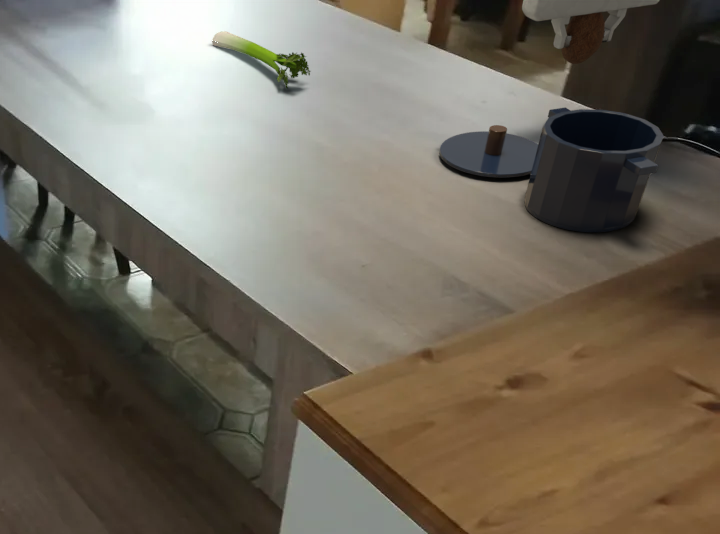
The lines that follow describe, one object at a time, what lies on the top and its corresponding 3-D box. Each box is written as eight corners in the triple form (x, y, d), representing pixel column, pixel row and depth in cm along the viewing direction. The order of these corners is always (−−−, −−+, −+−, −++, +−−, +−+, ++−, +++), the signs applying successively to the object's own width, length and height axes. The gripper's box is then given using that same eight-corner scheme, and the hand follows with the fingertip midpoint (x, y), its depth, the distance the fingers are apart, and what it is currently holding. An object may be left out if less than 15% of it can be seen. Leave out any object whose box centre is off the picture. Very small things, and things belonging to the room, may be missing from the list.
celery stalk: (236, 50, 180) (320, 85, 157) (205, 61, 179) (284, 99, 156) (232, 17, 176) (318, 49, 154) (200, 28, 175) (281, 62, 152)
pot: (582, 170, 130) (605, 96, 124) (672, 232, 116) (703, 152, 110) (494, 184, 129) (512, 110, 122) (574, 249, 115) (599, 169, 108)
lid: (510, 132, 141) (517, 102, 138) (566, 172, 130) (575, 141, 127) (420, 146, 139) (425, 116, 136) (470, 188, 128) (477, 156, 125)
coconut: (549, 63, 136) (563, 5, 131) (572, 55, 138) (587, -3, 133) (579, 72, 133) (595, 13, 128) (603, 64, 135) (619, 5, 129)
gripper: (552, -48, 121) (528, 60, 130) (691, -67, 124) (658, 41, 133) (525, -59, 126) (504, 47, 135) (660, -76, 128) (630, 28, 137)
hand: (581, 44), depth 134 cm, fingers closed on coconut, 5 cm apart
